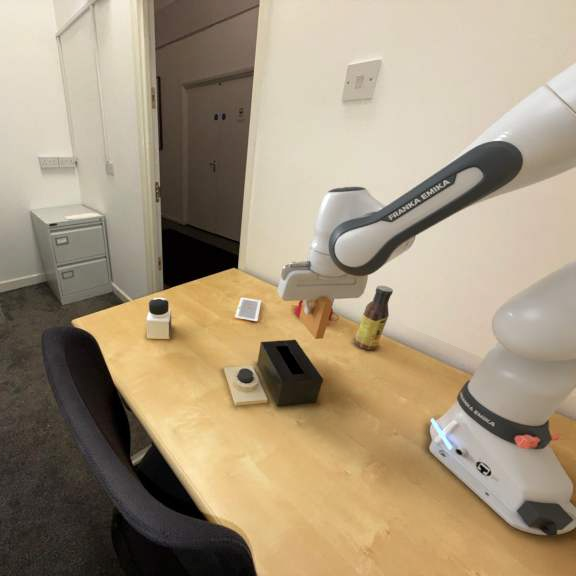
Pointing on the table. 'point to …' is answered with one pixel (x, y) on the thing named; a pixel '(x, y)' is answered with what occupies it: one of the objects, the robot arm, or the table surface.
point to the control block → (244, 387)
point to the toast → (317, 317)
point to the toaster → (289, 373)
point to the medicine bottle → (158, 319)
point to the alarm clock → (298, 309)
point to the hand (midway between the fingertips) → (314, 312)
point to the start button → (245, 375)
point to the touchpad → (248, 309)
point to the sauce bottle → (374, 319)
